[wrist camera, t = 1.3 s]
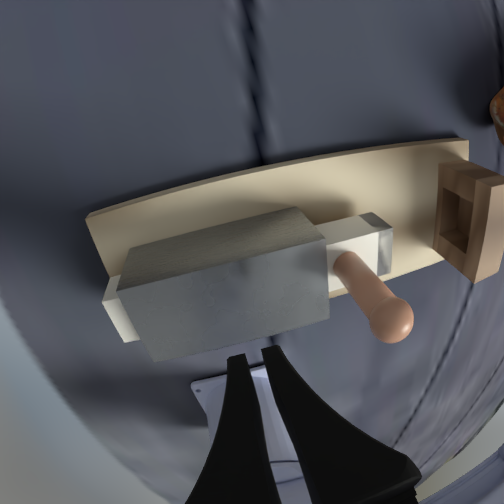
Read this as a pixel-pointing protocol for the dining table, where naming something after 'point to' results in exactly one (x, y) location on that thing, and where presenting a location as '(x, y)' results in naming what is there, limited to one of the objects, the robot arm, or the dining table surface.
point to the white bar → (334, 277)
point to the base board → (297, 200)
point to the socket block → (470, 218)
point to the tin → (498, 113)
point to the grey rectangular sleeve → (226, 284)
